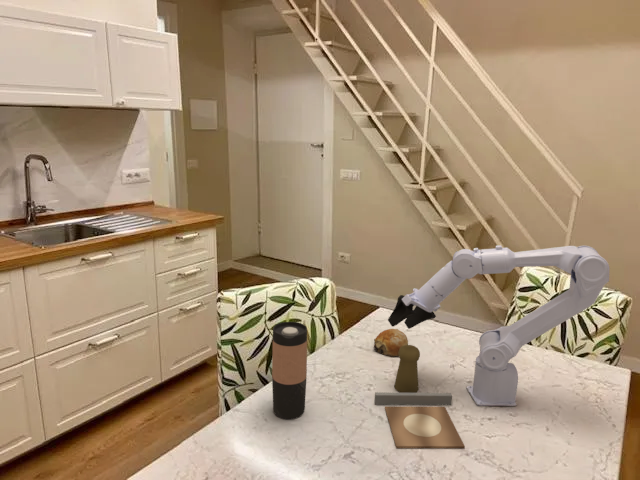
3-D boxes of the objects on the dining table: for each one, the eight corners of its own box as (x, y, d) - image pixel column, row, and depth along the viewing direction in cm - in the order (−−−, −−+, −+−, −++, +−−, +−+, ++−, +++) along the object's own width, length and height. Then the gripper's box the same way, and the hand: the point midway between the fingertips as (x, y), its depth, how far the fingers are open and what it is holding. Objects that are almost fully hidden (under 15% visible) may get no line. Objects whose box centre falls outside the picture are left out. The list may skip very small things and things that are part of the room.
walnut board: (444, 408, 109) (444, 406, 109) (464, 448, 96) (464, 445, 96) (384, 408, 109) (384, 405, 109) (396, 448, 95) (396, 445, 95)
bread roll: (404, 369, 134) (418, 346, 133) (372, 354, 133) (385, 331, 132) (398, 353, 144) (411, 331, 142) (369, 339, 143) (381, 317, 141)
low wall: (449, 402, 112) (450, 392, 111) (451, 405, 111) (452, 395, 110) (374, 401, 111) (374, 392, 111) (375, 404, 110) (375, 395, 110)
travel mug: (290, 397, 112) (291, 318, 108) (312, 411, 107) (314, 329, 102) (265, 409, 107) (265, 327, 102) (287, 424, 102) (288, 339, 97)
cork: (418, 395, 114) (422, 354, 112) (393, 392, 116) (396, 351, 113) (418, 383, 120) (422, 343, 118) (394, 380, 121) (397, 340, 119)
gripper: (442, 280, 121) (405, 314, 126) (412, 271, 110) (374, 309, 115) (458, 301, 116) (420, 335, 121) (430, 294, 106) (389, 332, 111)
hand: (398, 324), depth 118 cm, fingers open, 7 cm apart
